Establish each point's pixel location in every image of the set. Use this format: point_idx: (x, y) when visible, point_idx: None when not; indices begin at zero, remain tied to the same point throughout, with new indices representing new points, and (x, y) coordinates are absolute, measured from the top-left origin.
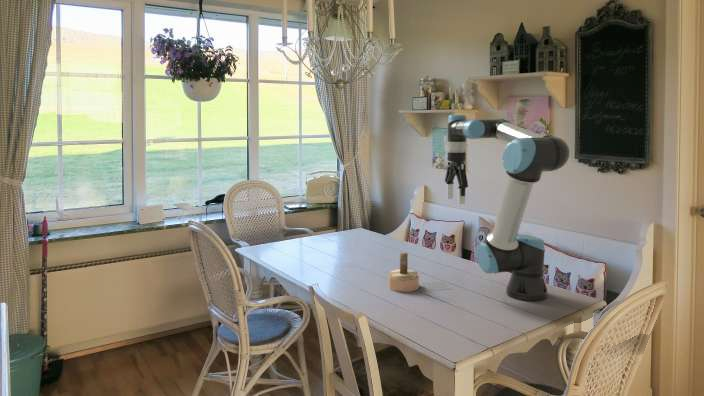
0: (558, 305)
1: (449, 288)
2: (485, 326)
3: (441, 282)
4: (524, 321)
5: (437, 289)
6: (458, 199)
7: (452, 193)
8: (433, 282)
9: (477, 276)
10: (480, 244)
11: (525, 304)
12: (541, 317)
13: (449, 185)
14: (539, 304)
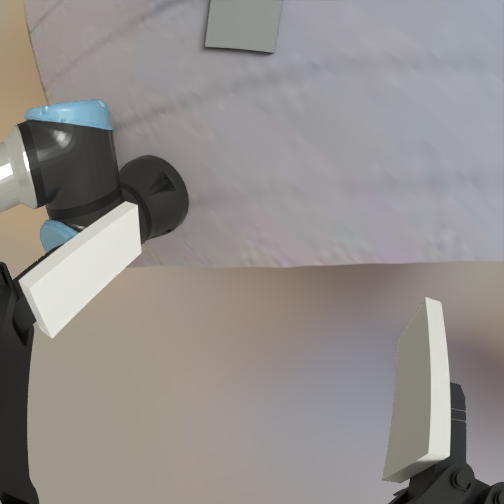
0: None
1: (211, 41)
2: (63, 47)
3: (266, 43)
4: None
5: (215, 10)
6: (110, 222)
7: (398, 380)
8: (274, 22)
9: (304, 185)
10: (37, 107)
11: None
12: None
13: (411, 450)
14: None
